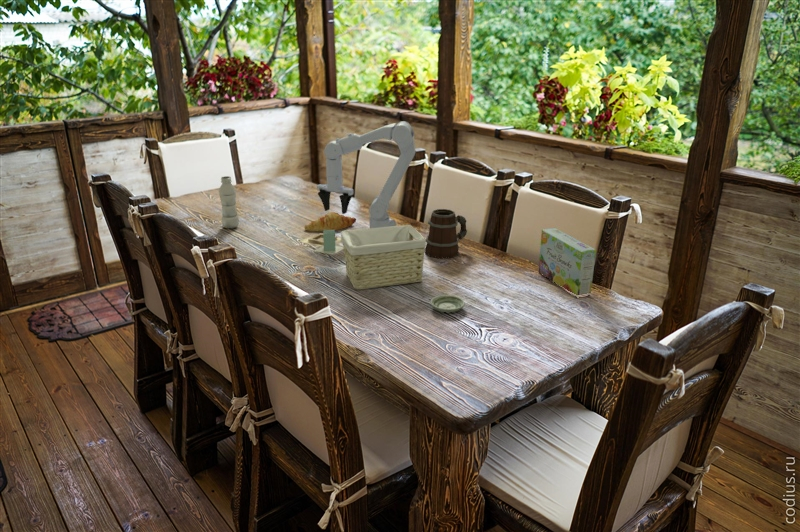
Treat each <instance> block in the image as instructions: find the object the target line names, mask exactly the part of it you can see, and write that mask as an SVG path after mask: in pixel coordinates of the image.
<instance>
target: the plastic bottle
mask: <svg viewBox="0 0 800 532" xmlns="http://www.w3.org/2000/svg"><path fill="white" fill-rule="evenodd" d="M220 180H221V181H220V182H221V185H220V186H219V189H218V194H219V199H220V203H221V214H222V215H221V224H222V226H223V228H226V229H234V228H237V227H239V224H240V218H239V216H238V211H237V204H236V202H237V201H236V200H237V199H236V198H237V197H236V196H237V190H236V187H235V186H234V184H232V177H231V176H221V177H220Z"/></svg>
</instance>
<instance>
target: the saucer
mask: <svg viewBox="0 0 800 532" xmlns="http://www.w3.org/2000/svg"><path fill="white" fill-rule="evenodd" d="M465 304H466V302H465V300H464V299H462V298H461V297H459V296H456V295H452V294H442V295H437V296H434V297H432V298H431V299H430V305H431V306H432V307H433V308H434V309H435V310H437V311H439V312H440V313H444V312H452V313H455V312H458V311H460V310H461V309H462V308H464V307H465Z"/></svg>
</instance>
